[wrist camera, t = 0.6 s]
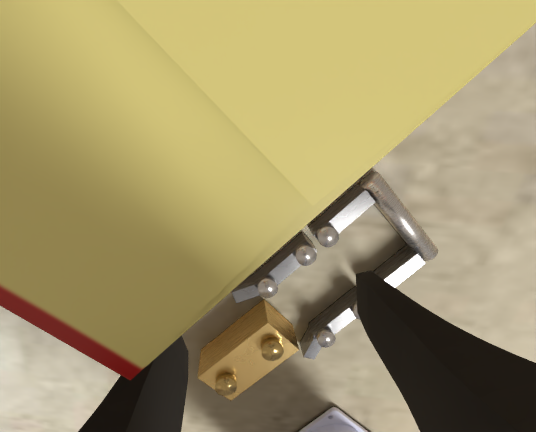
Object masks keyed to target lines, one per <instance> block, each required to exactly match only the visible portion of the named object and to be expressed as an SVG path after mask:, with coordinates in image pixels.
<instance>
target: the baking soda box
mask: <svg viewBox="0 0 536 432" xmlns="http://www.w3.org/2000/svg"><path fill="white" fill-rule="evenodd" d="M535 23H536V0H0V306H2V307H4V308H5V309H7V310H9V311H11V312H12V313H14V314H16V315H18V316H19V317H21V318H23V319H25V320H26V321H28V322H30V323H31V324H33V325H35V326H37V327H38V328H40V329H42V330H44V331H45V332H47V333H49V334H51V335H52V336H54V337H56V338H57V339H59V340H61V341H63V342H64V343H66V344H68V345H70V346H71V347H73V348H75V349H77V350H78V351H80V352H82V353H83V354H85V355H87V356H89V357H90V358H92V359H94V360H96V361H97V362H99V363H101V364H103V365H104V366H106V367H108V368H109V369H111V370H113V371H115V372H116V373H118V374H120V375H122V376H123V377H125V378H127V379H129V380H131V379H133V378H134V377H135V376H136V375H137V374H138V373H139V372H140V371H142V370H143V369H144V368H145V367H146V366H147V365H148V364H150V363H151V362H152V361H153V360H154V359H155V358H156V357H157V356H159V355H160V354H161V353H162V352H163V351H164V350H165V349H167V348H168V347H169V346H170V345H171V344H172V343H173V342H174V341H176V340H177V339H178V338H179V337H180V336H181V335H182V334H184V333H185V332H186V331H187V330H188V329H189V328H190V327H191V326H193V325H194V324H195V323H196V322H197V321H198V320H199V319H201V318H202V317H203V316H204V315H205V314H206V313H207V312H208V311H210V310H211V309H212V308H213V307H214V306H215V305H216V304H218V303H219V302H220V301H221V300H222V299H223V298H224V297H225V296H227V295H228V294H229V293H230V292H231V291H232V290H233V289H235V288H236V287H237V286H238V285H239V284H240V283H241V282H242V281H244V280H245V279H246V278H247V277H248V276H249V275H250V274H252V273H253V272H254V271H255V270H256V269H257V268H258V267H260V266H261V265H262V264H263V263H264V262H265V261H266V260H267V259H269V258H270V257H271V256H272V255H273V254H274V253H275V252H277V251H278V250H279V249H280V248H281V247H282V246H283V245H284V244H286V243H287V242H288V241H289V240H290V239H291V238H292V237H294V236H295V235H296V234H297V233H298V232H299V231H300V230H301V229H303V228H304V227H305V226H306V225H307V224H308V223H309V222H311V221H312V220H313V219H314V218H315V217H316V216H317V215H318V214H320V213H321V212H322V211H323V210H324V209H325V208H326V207H328V206H329V205H330V204H331V203H332V202H333V201H334V200H335V199H337V198H338V197H339V196H340V195H341V194H342V193H343V192H345V191H346V190H347V189H348V188H349V187H350V186H351V185H352V184H354V183H355V182H356V181H357V180H358V179H359V178H360V177H362V176H363V175H364V174H365V173H366V172H367V171H368V170H369V169H371V168H372V167H373V166H374V165H375V164H376V163H377V162H379V161H380V160H381V159H382V158H383V157H384V156H385V155H386V154H388V153H389V152H390V151H391V150H392V149H393V148H394V147H396V146H397V145H398V144H399V143H400V142H401V141H402V140H404V139H405V138H406V137H407V136H408V135H409V134H410V133H411V132H413V131H414V130H415V129H416V128H417V127H418V126H419V125H421V124H422V123H423V122H424V121H425V120H426V119H427V118H428V117H430V116H431V115H432V114H433V113H434V112H435V111H436V110H438V109H439V108H440V107H441V106H442V105H443V104H444V103H445V102H447V101H448V100H449V99H450V98H451V97H452V96H453V95H455V94H456V93H457V92H458V91H459V90H460V89H461V88H462V87H464V86H465V85H466V84H467V83H468V82H469V81H470V80H472V79H473V78H474V77H475V76H476V75H477V74H478V73H479V72H481V71H482V70H483V69H484V68H485V67H486V66H487V65H489V64H490V63H491V62H492V61H493V60H494V59H495V58H496V57H498V56H499V55H500V54H501V53H502V52H503V51H504V50H506V49H507V48H508V47H509V46H510V45H511V44H512V43H513V42H515V41H516V40H517V39H518V38H519V37H520V36H521V35H523V34H524V33H525V32H526V31H527V30H528V29H529V28H530V27H532V26H533V25H534V24H535Z"/></svg>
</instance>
